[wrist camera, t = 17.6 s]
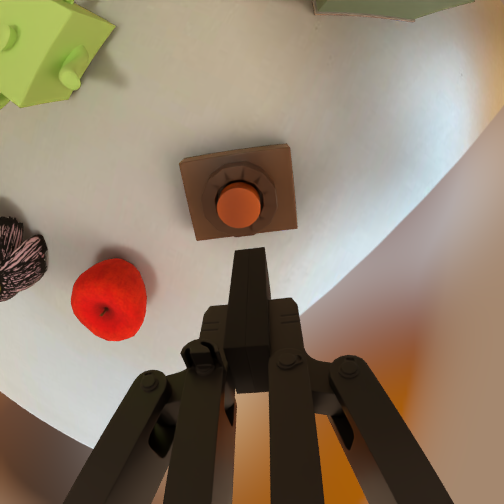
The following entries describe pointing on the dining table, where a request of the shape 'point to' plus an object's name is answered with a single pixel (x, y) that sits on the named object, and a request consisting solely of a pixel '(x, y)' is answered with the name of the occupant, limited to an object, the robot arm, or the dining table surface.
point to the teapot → (46, 49)
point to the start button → (238, 205)
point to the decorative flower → (19, 258)
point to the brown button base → (248, 171)
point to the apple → (110, 299)
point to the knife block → (384, 8)
